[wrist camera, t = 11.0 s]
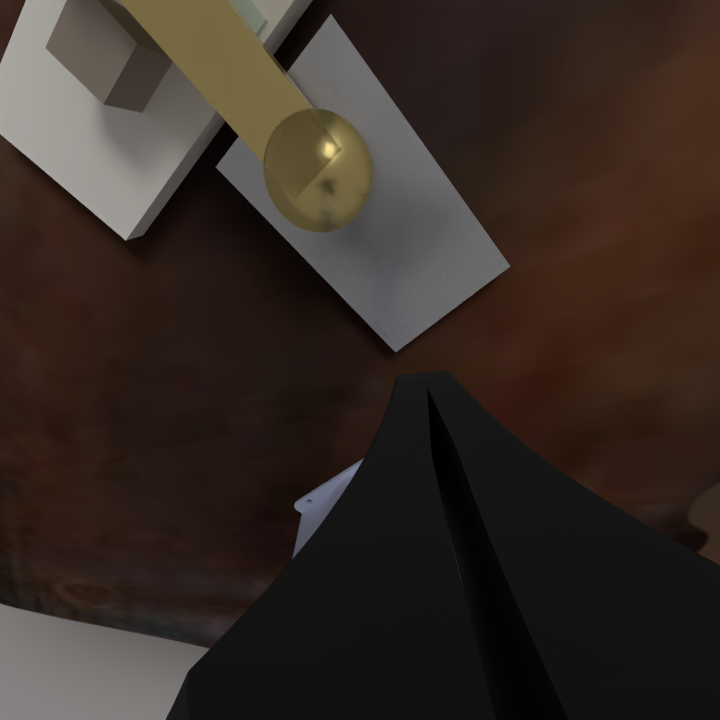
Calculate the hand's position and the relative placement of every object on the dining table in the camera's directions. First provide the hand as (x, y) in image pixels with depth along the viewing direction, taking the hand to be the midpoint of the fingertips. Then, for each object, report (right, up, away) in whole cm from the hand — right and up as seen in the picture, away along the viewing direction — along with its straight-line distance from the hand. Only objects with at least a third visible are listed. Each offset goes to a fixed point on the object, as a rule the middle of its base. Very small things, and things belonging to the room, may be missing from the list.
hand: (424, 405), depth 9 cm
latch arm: (-6, +11, +3) cm, 13 cm away
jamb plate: (-1, +8, +8) cm, 11 cm away
